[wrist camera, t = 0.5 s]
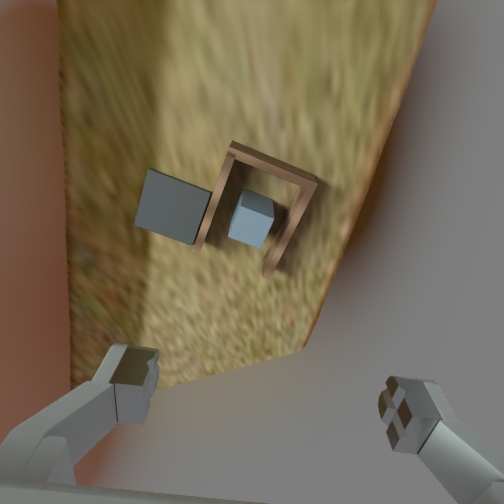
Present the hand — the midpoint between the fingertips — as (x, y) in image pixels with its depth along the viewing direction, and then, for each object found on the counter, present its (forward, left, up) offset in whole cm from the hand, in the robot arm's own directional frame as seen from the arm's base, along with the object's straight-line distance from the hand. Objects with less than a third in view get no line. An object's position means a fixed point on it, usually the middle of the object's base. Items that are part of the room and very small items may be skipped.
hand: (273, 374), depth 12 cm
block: (+9, +2, -42) cm, 43 cm away
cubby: (+10, +2, -42) cm, 43 cm away
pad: (+14, -10, -42) cm, 45 cm away
